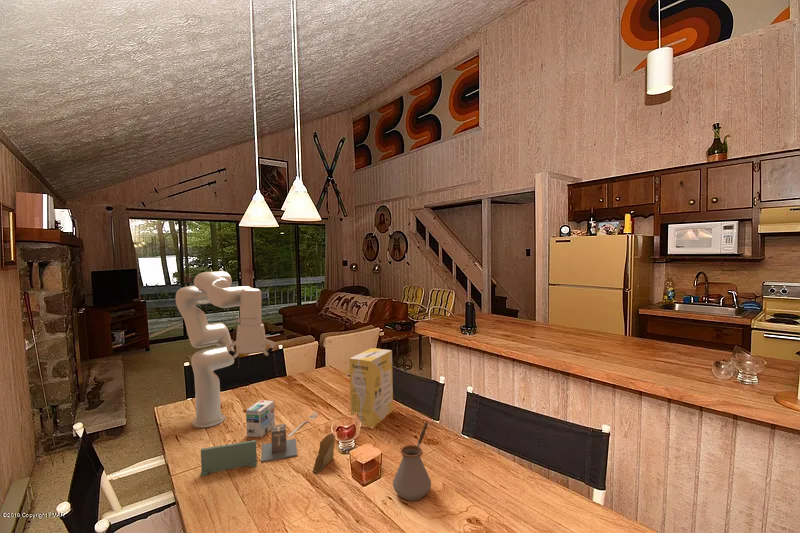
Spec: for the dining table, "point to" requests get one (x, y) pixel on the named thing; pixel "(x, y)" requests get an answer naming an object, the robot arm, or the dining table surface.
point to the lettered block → (278, 438)
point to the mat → (290, 452)
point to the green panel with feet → (228, 457)
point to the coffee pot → (412, 472)
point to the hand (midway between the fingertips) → (251, 366)
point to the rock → (325, 453)
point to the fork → (302, 424)
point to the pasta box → (371, 385)
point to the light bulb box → (260, 418)
